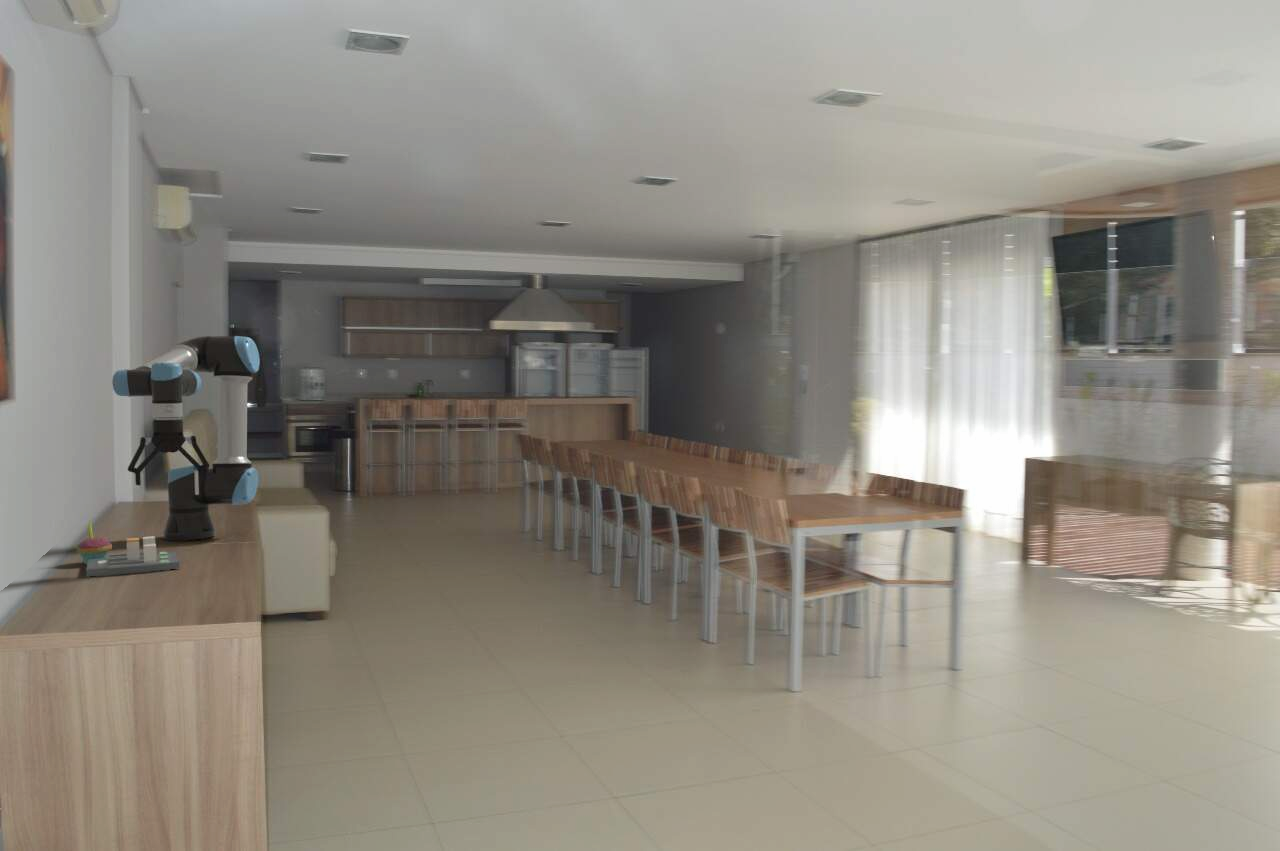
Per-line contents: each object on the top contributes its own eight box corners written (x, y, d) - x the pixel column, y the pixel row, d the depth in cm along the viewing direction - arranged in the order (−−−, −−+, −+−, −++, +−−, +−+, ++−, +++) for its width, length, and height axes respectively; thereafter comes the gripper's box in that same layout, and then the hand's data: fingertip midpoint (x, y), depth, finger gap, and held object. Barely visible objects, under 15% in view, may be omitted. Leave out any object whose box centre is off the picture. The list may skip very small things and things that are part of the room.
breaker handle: (127, 558, 269) (126, 538, 269) (139, 557, 270) (139, 537, 270) (127, 560, 266) (126, 540, 266) (139, 559, 268) (139, 539, 267)
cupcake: (70, 564, 273) (69, 521, 272) (99, 559, 280) (98, 517, 279) (90, 567, 269) (88, 524, 268) (119, 562, 276) (117, 519, 275)
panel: (89, 565, 271) (88, 540, 271) (176, 558, 281) (176, 534, 281) (86, 578, 255) (85, 551, 255) (179, 569, 265) (178, 544, 265)
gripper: (116, 420, 261) (119, 500, 262) (218, 418, 273) (220, 494, 274) (116, 419, 267) (118, 496, 268) (215, 417, 279) (217, 491, 280)
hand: (169, 495), depth 271 cm, fingers open, 13 cm apart
